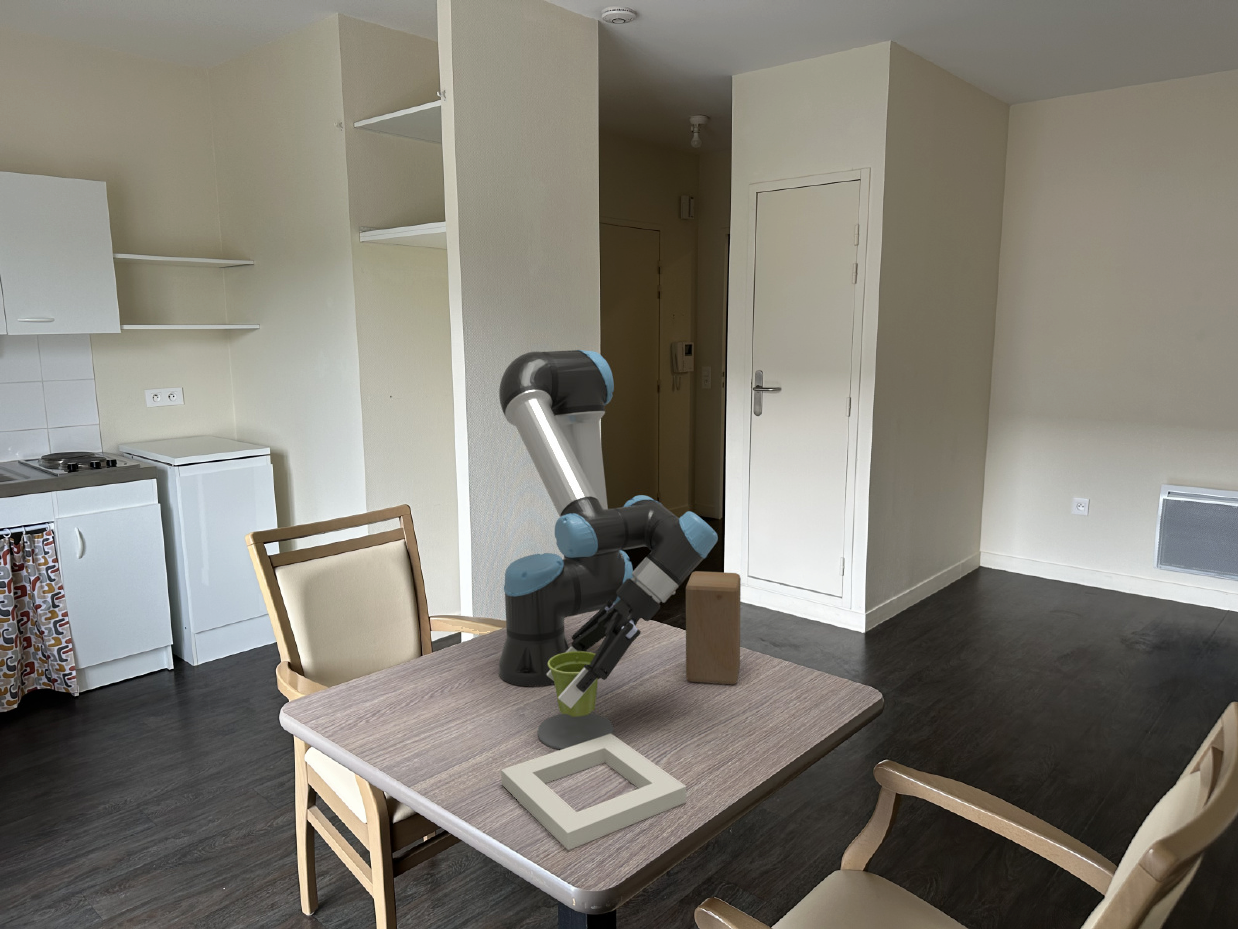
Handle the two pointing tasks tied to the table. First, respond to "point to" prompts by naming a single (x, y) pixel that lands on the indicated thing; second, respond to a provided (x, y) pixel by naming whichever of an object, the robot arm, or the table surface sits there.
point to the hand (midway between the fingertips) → (558, 690)
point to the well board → (602, 818)
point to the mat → (573, 730)
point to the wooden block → (713, 627)
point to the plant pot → (564, 674)
